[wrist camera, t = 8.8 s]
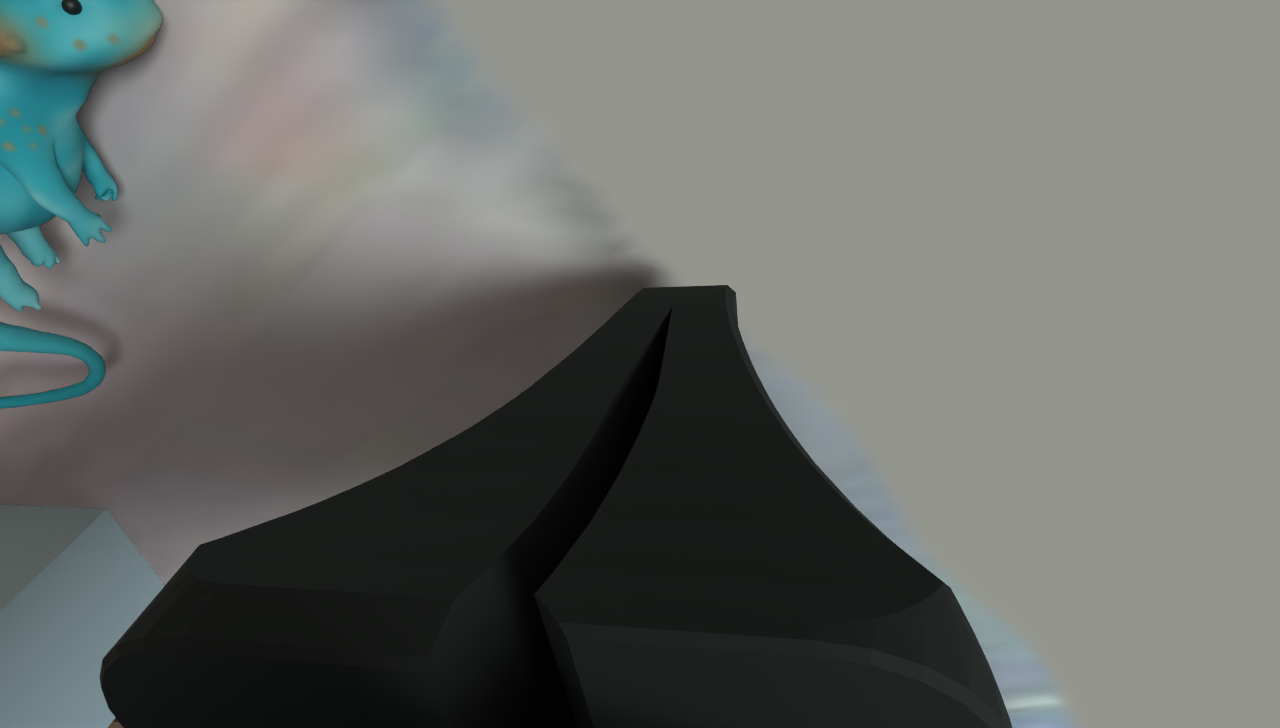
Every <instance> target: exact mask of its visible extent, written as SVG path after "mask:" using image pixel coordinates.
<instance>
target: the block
mask: <svg viewBox="0 0 1280 728" xmlns="http://www.w3.org/2000/svg"><path fill="white" fill-rule="evenodd" d="M163 587H164V585H163V583H162V582H161V581H160V579H159V578H158V577H157V575H156V574H155V573H154V571H153V570H152V569H151V567H150V566H149V565H148V563H147V562H146V561H145V559H144V558H143V556H142V555H141V554H140V552H139V551H138V550H137V548H136V547H135V546H134V544H133V543H132V542H131V540H130V539H129V538H128V536H127V535H126V534H125V532H124V531H123V530H122V528H121V527H120V526H119V524H118V523H117V522H116V520H115V519H114V518H113V516H112V515H111V514H110V512H109V511H108V510H107V509H91V508H67V507H44V506H20V505H0V728H108V726H109V725H110V724H111V723H112V721H113V720H114V719H115V718H116V717H115V716H114V715H113V714H112V712H111V711H110V710H109V708H108V705H107V703H106V700H105V697H104V695H103V692H102V689H101V684H100V671H101V665H102V659H103V658H104V657H105V656H106V654H107V653H108V652H109V651H110V650H111V648H112V647H113V646H114V645H115V644H116V643H117V641H118V640H119V639H120V638H121V637H122V636H123V634H124V633H125V632H126V631H127V630H128V629H129V627H130V626H131V625H132V624H133V623H134V621H135V620H136V619H137V618H138V617H139V616H140V614H141V613H142V612H143V611H144V610H145V609H146V607H147V606H148V605H149V604H150V603H151V602H152V600H153V599H154V598H155V597H156V596H157V595H158V593H159V592H160V591H161V590H162V589H163Z"/></svg>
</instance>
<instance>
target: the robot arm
mask: <svg viewBox="0 0 1280 728" xmlns="http://www.w3.org/2000/svg"><path fill="white" fill-rule="evenodd" d="M100 684H101V689H102V692H103V695H104V697H105V700H106V703H107V705H108V708H109V710H110V711H111V712H112V714H113V715H114V716H115V717H116V719H117V720H118V721H119V723H120V724H121V725H122V726H123V728H1012V725H1011V722H1010V718H1009V716H1008V713H1007V710H1006V707H1005V705H1004V702H1003V699H1002V696H1001V694H1000V691H999V688H998V686H997V683H996V681H995V678H994V676H993V673H992V671H991V668H990V666H989V664H988V661H987V659H986V657H985V655H984V653H983V651H982V648H981V646H980V644H979V642H978V640H977V638H976V636H975V633H974V632H973V630H972V628H971V626H970V624H969V622H968V620H967V618H966V616H965V614H964V612H963V610H962V608H961V606H960V605H959V603H958V601H957V599H956V597H955V595H954V594H953V592H952V590H951V588H950V587H949V586H947V585H946V584H945V583H944V582H943V581H941V580H940V579H939V578H937V577H936V576H935V575H934V574H932V573H931V572H930V571H929V570H927V569H926V568H925V567H923V566H922V565H921V564H920V563H918V562H917V561H916V560H915V559H913V558H912V557H911V556H909V555H908V554H907V553H906V552H904V551H903V550H902V549H901V548H899V547H898V546H897V545H896V544H895V543H893V542H892V541H891V540H890V539H889V538H888V537H886V536H885V535H884V534H883V533H882V532H881V531H880V530H879V529H878V528H877V527H876V526H875V525H874V524H873V523H872V522H871V521H869V520H868V519H867V518H866V517H865V516H864V515H863V514H862V513H861V512H860V511H859V510H858V509H857V508H856V507H855V506H854V505H853V504H852V503H851V502H850V501H849V500H848V499H847V498H846V496H845V495H844V494H843V493H842V492H841V491H840V490H839V489H838V488H837V487H836V486H835V484H834V483H833V482H832V481H831V480H830V479H829V478H828V477H827V476H826V475H825V474H824V472H823V471H822V470H821V469H820V468H819V467H818V466H817V465H816V464H815V462H814V461H813V460H812V459H811V457H810V456H809V455H808V453H807V452H806V451H805V450H804V448H803V447H802V446H801V444H800V443H799V442H798V440H797V439H796V438H795V436H794V435H793V433H792V432H791V431H790V429H789V428H788V426H787V425H786V423H785V422H784V420H783V419H782V417H781V416H780V414H779V413H778V411H777V409H776V408H775V406H774V405H773V403H772V401H771V399H770V398H769V396H768V394H767V392H766V390H765V389H764V387H763V385H762V383H761V381H760V379H759V377H758V375H757V373H756V371H755V369H754V367H753V365H752V362H751V360H750V358H749V355H748V353H747V350H746V348H745V345H744V343H743V340H742V337H741V334H740V331H739V328H738V318H737V304H736V292H735V291H733V290H732V289H731V288H730V287H729V286H728V285H718V286H689V287H659V288H643V289H642V290H641V291H639V292H638V293H637V294H636V295H635V296H634V297H633V298H631V299H630V300H629V301H628V302H627V303H626V304H625V305H624V306H623V307H622V308H621V309H620V310H619V311H618V312H616V313H615V314H614V315H613V316H612V317H611V318H610V319H609V320H608V321H607V322H606V323H605V324H604V325H603V326H601V327H600V328H599V329H598V330H597V331H596V332H595V333H594V334H593V335H592V336H590V337H589V338H588V339H587V340H586V341H585V342H584V343H583V344H582V345H580V346H579V347H578V348H577V349H576V350H575V351H574V352H573V353H571V354H570V355H569V356H568V357H566V358H565V359H564V360H563V361H561V362H560V363H559V364H558V365H557V366H555V367H554V368H553V369H552V370H550V371H549V372H548V373H547V374H545V375H544V376H543V377H542V378H540V379H539V380H538V381H537V382H535V383H534V384H533V385H532V386H530V387H529V388H528V389H527V390H525V391H524V392H522V393H521V394H520V395H518V396H517V397H516V398H514V399H513V400H511V401H510V402H508V403H507V404H506V405H504V406H503V407H501V408H500V409H498V410H497V411H495V412H494V413H492V414H490V415H489V416H487V417H486V418H484V419H483V420H481V421H480V422H478V423H477V424H475V425H473V426H472V427H470V428H469V429H467V430H465V431H464V432H462V433H460V434H458V435H457V436H455V437H453V438H451V439H449V440H447V441H445V442H444V443H442V444H440V445H438V446H436V447H434V448H433V449H431V450H429V451H427V452H425V453H423V454H422V455H420V456H418V457H416V458H414V459H412V460H410V461H409V462H407V463H405V464H403V465H401V466H399V467H397V468H395V469H393V470H391V471H389V472H387V473H385V474H382V475H380V476H378V477H376V478H374V479H372V480H369V481H367V482H365V483H363V484H361V485H359V486H356V487H354V488H352V489H349V490H347V491H345V492H342V493H340V494H338V495H335V496H333V497H331V498H328V499H326V500H324V501H321V502H319V503H316V504H314V505H311V506H308V507H306V508H303V509H301V510H298V511H296V512H293V513H290V514H287V515H284V516H282V517H279V518H276V519H273V520H270V521H268V522H265V523H262V524H259V525H256V526H254V527H251V528H248V529H245V530H242V531H240V532H237V533H234V534H231V535H228V536H226V537H223V538H220V539H217V540H213V541H210V542H207V543H204V544H201V545H200V546H198V547H197V549H196V550H195V551H194V552H193V553H192V555H191V556H190V557H189V558H188V559H187V561H186V562H185V563H184V564H183V565H182V566H181V568H180V569H179V570H178V571H177V572H176V573H175V575H174V576H173V577H172V578H171V579H170V580H169V582H168V583H167V584H166V585H165V586H164V587H163V589H162V590H161V591H160V592H159V593H158V595H157V596H156V597H155V598H154V599H153V600H152V602H151V603H150V604H149V605H148V606H147V607H146V609H145V610H144V611H143V612H142V613H141V614H140V616H139V617H138V618H137V619H136V620H135V621H134V623H133V624H132V625H131V626H130V627H129V629H128V630H127V631H126V632H125V633H124V634H123V636H122V637H121V638H120V639H119V640H118V641H117V643H116V644H115V645H114V646H113V647H112V648H111V650H110V651H109V652H108V653H107V654H106V656H105V657H104V658H103V659H102V665H101V671H100Z"/></svg>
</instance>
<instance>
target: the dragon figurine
mask: <svg viewBox="0 0 1280 728" xmlns="http://www.w3.org/2000/svg"><path fill="white" fill-rule="evenodd" d="M161 24H162V15H161V12H160V10H159V8H158V7H157V5H156V4H155V3H154V1H153V0H0V234H2V233H5V234H6V235H7V236H8V237H9V238H11V239H12V240H13V242H14V243H15V244H16V245H17V246H18V247H19V249H20V251H21V252H22V254H23V255H24V256H25V257H26V258H28V259H29V260H30V262H31V263H32V264H33V265H34V266H41V265H42V264H43V265H44V266H45V267H47V268H52V267H53V265H54V263H55V262H56V263H59V264H60V259H59V258H58V256H57V254H56V252H55V250H54V249H53V248H52V247H51V246H50V245H49V243H48V242H47V241H46V240H45V238H44V236H43V234H42V231H41V228H40V225H41V224H44V223H46V222H47V221H49V220H51V219H52V218H53V217H55V216H58V217H60V218H61V219H63V220H65V221H67V222H68V223H69V225H70V226H71V228H72V229H73V231H74V232H75V234H76V235H77V236H78V238H79V239H80V240H81V241H82V243H83V244H84V245H85V246H86V247H87V246H88V245H89V239H90V238H93V239H95V240H97V241H99V242H101V243H105V242H106V241H105V237H104V235H103V234H102V233H101V232H100V230H104V231H112V229H111V227H110V226H109V225H108V224H106V223H105V222H104V220H103V219H102V218H101V216H100V215H99V214H96V213H94V212H92V211H90V210H89V209H87V208H86V207H85V206H84V205H83V204H82V203H81V202H80V200H79V199H78V198H77V197H76V196H75V195H74V193H75V191H76V190H77V187H78V185H79V181H80V178H81V173H82V169H83V170H84V173H85V176H86V178H87V180H88V182H89V183H90V184H91V185H92V186H93V188H94V191H95V193H96V196H95V198H96V199H102V200H104V201H108V200H109V199H110V198H111V197H112V200H113V201H115V200H117V197H118V189H117V185H116V183H115V181H114V180H113V178H112V177H111V175H110V174H109V173H108V171H107V170H106V169H105V167H104V165H103V163H102V161H101V159H100V158H99V156H98V154H97V153H96V151H95V150H94V148H93V147H92V145H91V144H90V142H89V141H88V139H87V138H86V136H85V134H84V132H83V131H82V129H81V127H80V126H79V123H78V120H77V117H76V114H77V112H78V110H79V109H80V108H81V106H82V105H83V104H84V102H85V101H86V99H87V97H88V94H89V92H90V89H91V87H92V85H93V84H94V82H95V80H96V78H97V76H98V75H99V73H100V72H102V71H103V70H105V69H109V68H113V67H116V66H119V65H122V64H124V63H126V62H128V61H130V60H132V59H134V58H136V57H138V56H139V55H141V54H142V53H144V52H145V51H146V50H147V49H148V48H149V47H150V46H151V45H152V43H153V41H154V39H155V37H156V33H157V31H158V30H159V28H160V27H161ZM0 297H1V298H2V299H3V300H5V301H6V302H7V303H8V304H9V305H10V306H12V307H13V308H14V309H16V310H18V311H22V310H23V306H28V307H33V308H35V309H38V310H40V309H41V306H40V304H39V303H38V301H39V294H38V292H37V291H36V290H35V289H34V288H33V287H32V286H30V285H29V284H27V283H25V282H24V281H23V280H22V278H21V277H20V275H19V273H18V271H17V269H16V267H15V266H14V264H13V263H12V262H11V261H10V259H9V258H8V257H7V256H6V254H5V253H4V251H3V249H2V247H1V245H0ZM0 351H15V352H34V353H51V354H62V355H69V356H73V357H76V358H78V359H81V360H82V361H84V362H85V363H86V365H87V366H88V367H89V374H88V376H87V377H86V379H85V380H83V381H82V382H80V383H77V384H74V385H71V386H68V387H64V388H61V389H55V390H51V391H46V392H42V393H36V394H29V395H19V396H10V397H0V409H1V408H13V407H21V406H28V405H35V404H42V403H49V402H55V401H61V400H65V399H70V398H74V397H77V396H81V395H84V394H86V393H88V392H90V391H92V390H93V389H95V388H96V387H97V386H98V385H100V383H101V382H102V381H103V379H104V376H105V363H104V360H103V358H102V357H101V356H100V355H99V354H98V353H97V352H96V351H94V350H93V349H92V348H91V347H89V346H88V345H86V344H84V343H82V342H80V341H78V340H75V339H72V338H69V337H65V336H61V335H57V334H52V333H46V332H41V331H37V330H33V329H29V328H25V327H20V326H14V325H10V324H6V323H2V322H0Z"/></svg>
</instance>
